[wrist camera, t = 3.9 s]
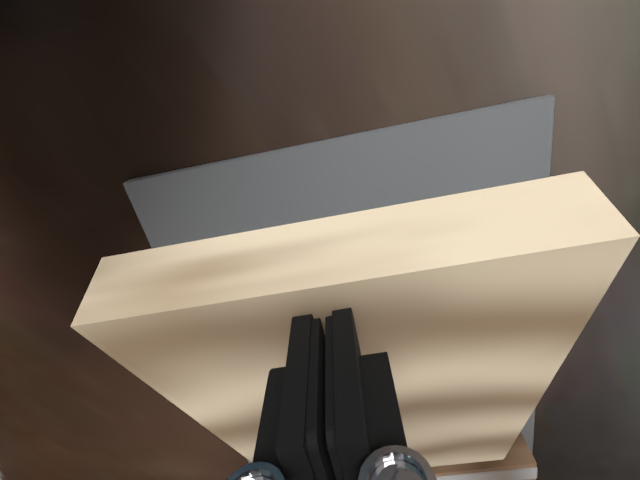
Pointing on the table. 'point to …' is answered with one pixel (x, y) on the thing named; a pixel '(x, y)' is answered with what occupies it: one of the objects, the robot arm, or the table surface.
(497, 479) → the walnut board
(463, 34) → the table surface
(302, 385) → the robot arm
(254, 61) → the table surface
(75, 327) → the oak plank
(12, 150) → the table surface
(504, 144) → the underlay mat
